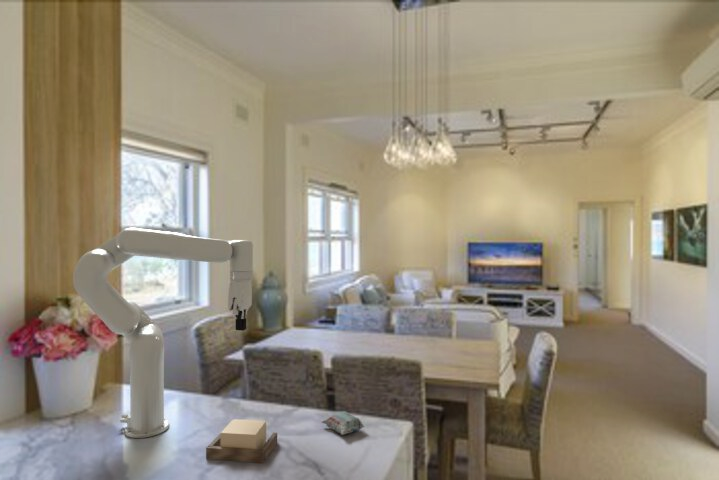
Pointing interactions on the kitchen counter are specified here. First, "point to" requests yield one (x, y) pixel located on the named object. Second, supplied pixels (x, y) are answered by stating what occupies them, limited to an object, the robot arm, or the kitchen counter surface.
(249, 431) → the carton
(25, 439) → the kitchen counter surface
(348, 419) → the packaged food
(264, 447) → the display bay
